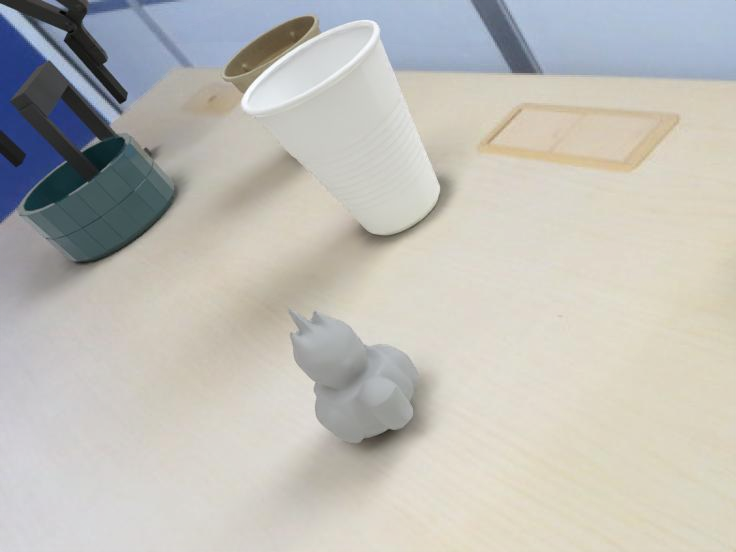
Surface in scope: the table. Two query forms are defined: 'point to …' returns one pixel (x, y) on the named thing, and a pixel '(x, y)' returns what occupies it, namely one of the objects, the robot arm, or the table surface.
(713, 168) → the table surface
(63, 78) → the dark grey frame
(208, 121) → the table surface
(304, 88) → the cup
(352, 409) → the grey horned figurine
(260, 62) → the flower pot
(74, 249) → the teal short open cylinder
